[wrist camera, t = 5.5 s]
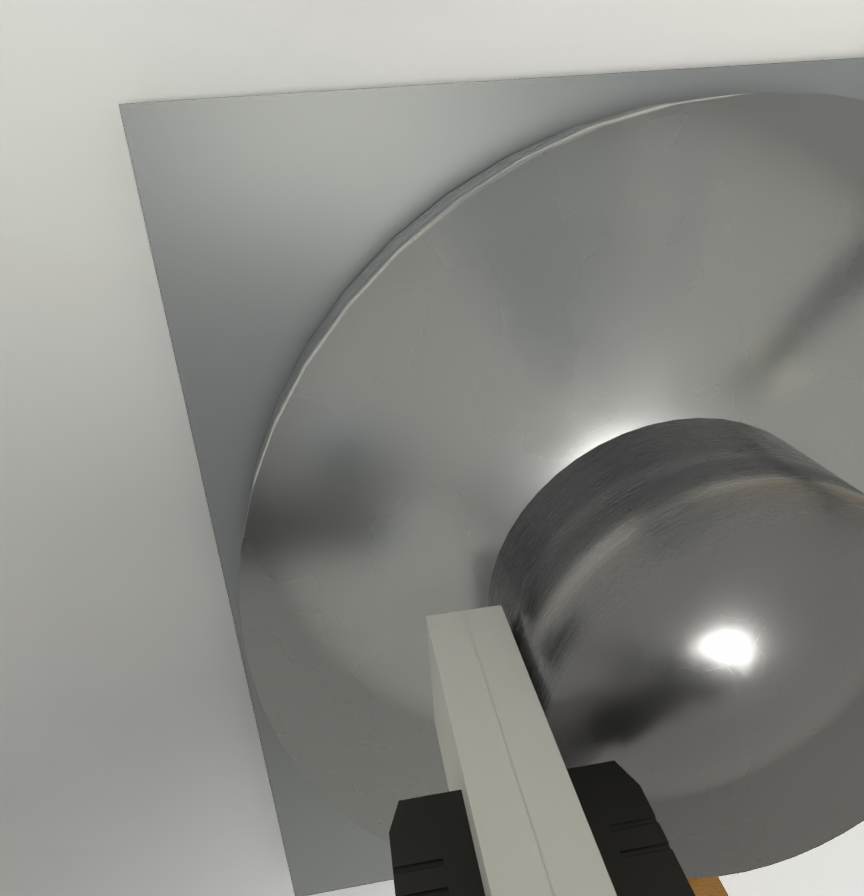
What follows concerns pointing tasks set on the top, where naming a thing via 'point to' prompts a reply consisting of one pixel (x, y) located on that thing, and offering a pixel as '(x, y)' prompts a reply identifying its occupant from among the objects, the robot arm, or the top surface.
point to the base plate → (335, 277)
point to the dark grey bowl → (701, 633)
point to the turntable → (537, 393)
